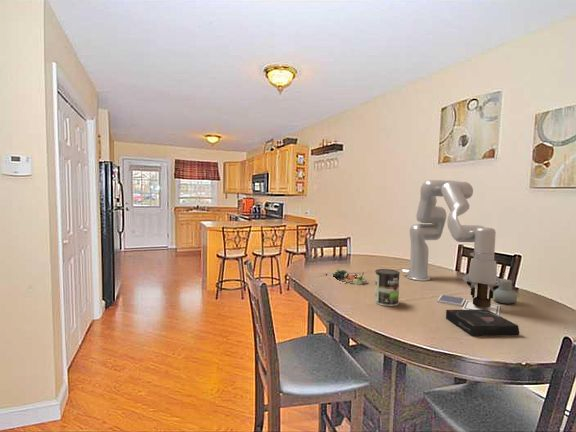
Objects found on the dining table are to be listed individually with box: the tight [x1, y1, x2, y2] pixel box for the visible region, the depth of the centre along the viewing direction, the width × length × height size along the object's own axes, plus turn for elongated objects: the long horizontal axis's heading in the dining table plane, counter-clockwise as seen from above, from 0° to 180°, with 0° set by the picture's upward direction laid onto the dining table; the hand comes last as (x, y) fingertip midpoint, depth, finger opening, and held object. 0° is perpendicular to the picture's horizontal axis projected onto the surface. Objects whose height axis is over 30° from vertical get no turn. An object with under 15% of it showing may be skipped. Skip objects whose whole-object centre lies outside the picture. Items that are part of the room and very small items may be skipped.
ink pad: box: [436, 294, 466, 308], centre depth 153 cm, size 10×10×1 cm
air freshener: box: [493, 278, 518, 305], centre depth 153 cm, size 11×8×10 cm
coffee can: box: [374, 268, 401, 307], centre depth 150 cm, size 10×10×14 cm
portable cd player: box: [445, 309, 520, 337], centre depth 124 cm, size 16×17×4 cm
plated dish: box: [332, 268, 369, 286], centre depth 190 cm, size 35×28×7 cm
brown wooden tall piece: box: [472, 283, 492, 307], centre depth 144 cm, size 7×6×18 cm
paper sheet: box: [461, 299, 501, 316], centre depth 144 cm, size 13×15×1 cm
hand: (481, 298), depth 144 cm, fingers closed on brown wooden tall piece, 5 cm apart
